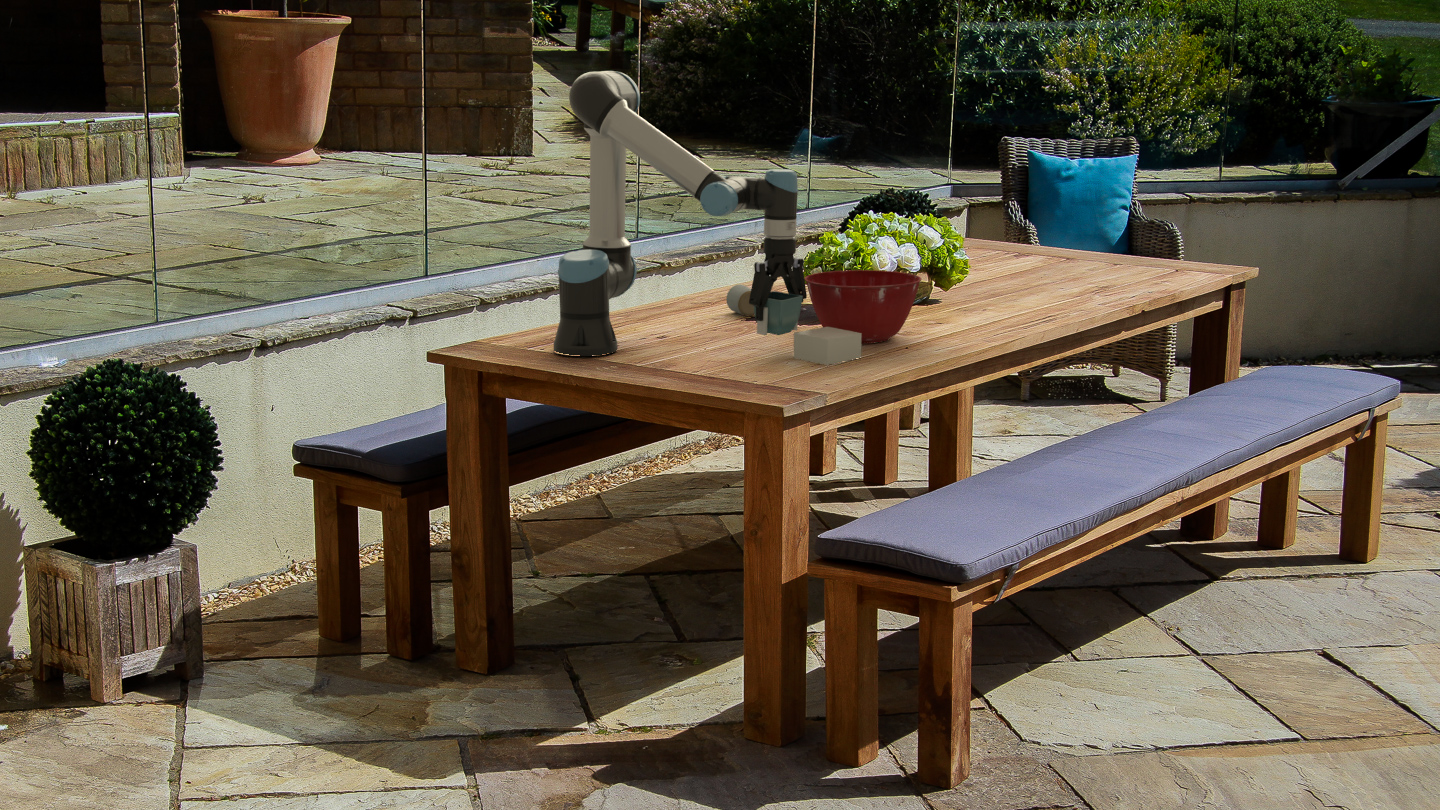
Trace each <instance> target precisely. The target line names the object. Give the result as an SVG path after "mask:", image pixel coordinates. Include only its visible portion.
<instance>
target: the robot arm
mask: <svg viewBox="0 0 1440 810" xmlns="http://www.w3.org/2000/svg"><path fill="white" fill-rule="evenodd" d="M568 95H569V96H568V98H569V105H570V108H571V110H572V112H573V113H574V115H575V116H576V117H577V118H578V119H579V121H581V122H583V129H584V131H585V132H586V133H587V134H588V135H589V137H590V139H589V140H590V141H589V143H590V145H589V147H590V148H589V156H590V157H589V233H588V237H587V238H586V239H585V240H584V241H583V242H582V249H578V250H576V251H569V252H567V253H565V254H563V255H562V256H561V257H560V258H559V260H558V270H557V275H558V287H559V288H558V291H559V292H558V293H559V296H558V297H559V323H558V327H557V329H556V330H557V331H556V333H555V337H554V341H553V352H554V351H556V352H559V353H563V354H569V355H580V356H592V355H602V354H607V353H612V352H615V351H616V350H617V349H618V340H617V337H616V334H615V331H614V328H613V325H612V322H611V319H610V300H612V299H615V298H618V297H620V296H622V295H624V294H625V293H626V292H627V291H628V290H630V289H631V287H632V286H633V285H634V283H635V281H636V278H637V275H638V274H637V273H638V271H637V270H638V268H637V264H636V260H635V258H634V257H633V255H632V254H631V253H632V252H631V251H632V249H631V247H632V244H631V242H630V241H629V239H627V238H626V235H625V233H626V183H627V182H626V181H627V180H626V175H627V174H626V171H627V150H629V151H630V152H632V153H633V154H635V156H636V157H638V158H639V159H641V160H642V161H644V162H645V163H646V164H647V165H649V166H651V167H652V168H653V169H655V170H656V171H657V172H659V173H660V174H662V176H664V177H666V178H667V179H668V180H670V182H672V183H674V185H677V186H678V187H679V188H681V189H682V190H683V191H685V192H686V193H688V194H689V195H690V196H692V197H693V198H694V199H696V200H697V201H698V202H699V203H700V205H701V208H702V210H704V212H705V213H706V214H708V215H709V216H712V217H724V216H725V217H726V216H728V215H730V214H732V213H735V212H737V211H741V210H749V211H750V210H751V211H752V210H753V211H764V216H763V217H764V219H763V221H764V222H763V235H764V236H765V237H764V238H763V253H764V256H765V258H764V261H761V262H758V261H757V262H754V263H753V266H754V274H753V279H752V284H751V288H750V289H751V293H750V298H749V304H751V305H753V306H755V307H756V318H755V321H756V320H757V321H756V334H758V335H762V336H767V335H768V333H767V319H768V307H765V305H766V302H767V300H768V297H769V294H770V292H771V291H772V289H773V288H774V287H773V286H774V283H775V282H777V280H778V278H782V280H783V282H784V285H785V288H786V290H787V293H788V294H795V295H801V296H803V298H802V303H804V300H806V299H807V298H808V295H807V288H806V287H807V286H806V281H805V275H804V261H805V260H804V259H803V258H798V257H794V255H795V254H796V251H797V239H796V235H797V215H798V213H797V211H798V193H799V189H798V173H797V172H796V171H795V170H792V169H786V168H785V169H784V168H783V169H782V168H779V169H778V168H771V169H770V168H769V169H767V170H765V175H764V177H750V176H738V175H737V176H736V175H721V174H719V173H717V172H716V171H715V170H714V169H712V168H711V167H710V166H709V165H707V164H706V163H704V162H703V161H702V160H700V159H699V158H697V157H696V156H695V155H693V154H692V153H691V152H689V151H688V150H686V149H685V148H684V147H683V146H681V145H680V144H679V143H677V142H676V141H674V140H673V139H672V138H670V137H669V136H667V135H666V134H665V133H663V132H662V131H661V130H659V129H658V128H656V127H655V126H654V125H652V124H651V123H649V122H648V121H647V120H646V119H644V118H643V117H641V116H640V115H638V114H637V111H638V109H639V107H640V104H641V93H640V90H639V87H638V85H637V84H636V83H635V81H634V80H633V79H632V78H631V77H630V76H629V75H627V74H625V73H623V72H621V71H614V70H601V71H589V72H586V73H583V74H581V75H580V76H578V77H577V78H576V79H575V80H574V81H573V83H572V85H571V87H570V90H569V94H568ZM754 299H755V300H754ZM798 323H799V320H798V321H797V323H796V325H795V327H794V328H793V330H792V331H798V326H799V325H798ZM617 351H618V350H617ZM615 353H616V352H615Z"/></svg>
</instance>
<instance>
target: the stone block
mask: <svg viewBox="0 0 1440 810" xmlns="http://www.w3.org/2000/svg"><path fill="white" fill-rule="evenodd" d="M861 334H862V333H858V332H853V331H848V330H842V329H837V328H832V327H817V328H813V329H807V330H801V331H795V332H793V359H796V358H797V359H796V360H800V359H801V360H802V361H805V362H809V361H810V363H814V362H815V364H818V363H820V364H819V365H823V364H825V365H824V366H830V365H829V364H832V365H835V364H834V363H837V364H839V363H838V362H842V361H847V360H852V359H856V358H860V357H861V358H862V344H861ZM852 361H853V360H852ZM847 362H848V361H847ZM842 363H843V362H842Z"/></svg>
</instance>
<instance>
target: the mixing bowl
mask: <svg viewBox="0 0 1440 810" xmlns="http://www.w3.org/2000/svg"><path fill="white" fill-rule="evenodd" d="M804 280H805V283H806V285H807V286H806V287H807V291H808V294H809V297H810V301H811V304H812V308H813V309H814V312H815V314H816V316H817V319H818V321H819V323H820V324H821V326H822V327H821V328H823V327H832V328H837V329H842V330H848V331H853V332H858V333H862V334H861V343H862V344H875V343H874V342H879V343H882V342H881V341H884V342H887V341H889V340H890V339H892V338H893V337H894V336H896V335H897V334H898V333H899V332H900V331H901V329H902V328H903V326H904V324H905V323H906V320H907V319H908V317H909V316H910V315H909V314H910V312H911V310H912V307H913V305H914V303H915V300H916V296H917V293H918V290H919V287H920V282H921V281H922V277H921V276H918V275H917V274H912V273H908V272H902V271H901V272H899V271H891V270H873V269H872V270H871V269H867V270H866V269H865V270H864V269H858V270H857V269H849V270H848V269H847V270H846V269H845V270H832V271H831V270H830V271H821V272H816V273H812V274H809V275H807V276H804ZM888 339H889V340H888ZM886 340H887V341H886Z"/></svg>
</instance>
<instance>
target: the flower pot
mask: <svg viewBox="0 0 1440 810" xmlns="http://www.w3.org/2000/svg"><path fill="white" fill-rule="evenodd" d="M802 298H803V296H801V295H795V294H789V293H788V292H782V291H781V292H780V291H777V290H776V291H773V290H771V292H770V294H769V297H768V300H767V302H766V305H765V307H768V319H767V334H769V335H771V334H772V335H776V336H781V335H784V334H789V333H791V332H792V331H794V330H793V328H794V327H795V325H796V323H797V321H798V322H799V319H800V314H801V308H802ZM754 300H755V299H754ZM754 318H755V321H756V322H757V320H756V307H755V306H754Z"/></svg>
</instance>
